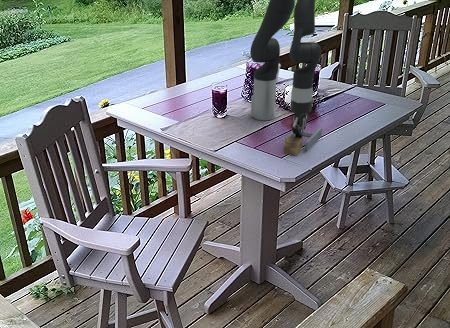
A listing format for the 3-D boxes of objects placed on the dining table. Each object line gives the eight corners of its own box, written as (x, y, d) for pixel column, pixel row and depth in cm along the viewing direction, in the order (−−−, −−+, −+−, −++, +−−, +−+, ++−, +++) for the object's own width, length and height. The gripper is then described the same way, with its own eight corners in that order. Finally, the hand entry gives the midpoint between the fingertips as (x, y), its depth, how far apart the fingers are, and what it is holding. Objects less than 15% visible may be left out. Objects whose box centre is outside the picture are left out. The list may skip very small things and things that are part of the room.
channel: (284, 146, 193) (284, 138, 192) (299, 132, 206) (300, 123, 204) (307, 151, 190) (307, 143, 188) (321, 136, 202) (322, 128, 201)
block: (284, 153, 188) (284, 140, 186) (289, 148, 192) (289, 135, 190) (296, 156, 186) (297, 143, 184) (301, 150, 190) (302, 138, 188)
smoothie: (278, 85, 259) (280, 57, 252) (266, 84, 260) (267, 57, 254) (280, 81, 264) (281, 54, 258) (267, 80, 266) (269, 53, 259)
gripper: (298, 91, 191) (295, 134, 199) (285, 102, 180) (282, 146, 188) (317, 94, 188) (313, 137, 196) (305, 105, 177) (301, 151, 185)
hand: (298, 142), depth 192 cm, fingers closed
